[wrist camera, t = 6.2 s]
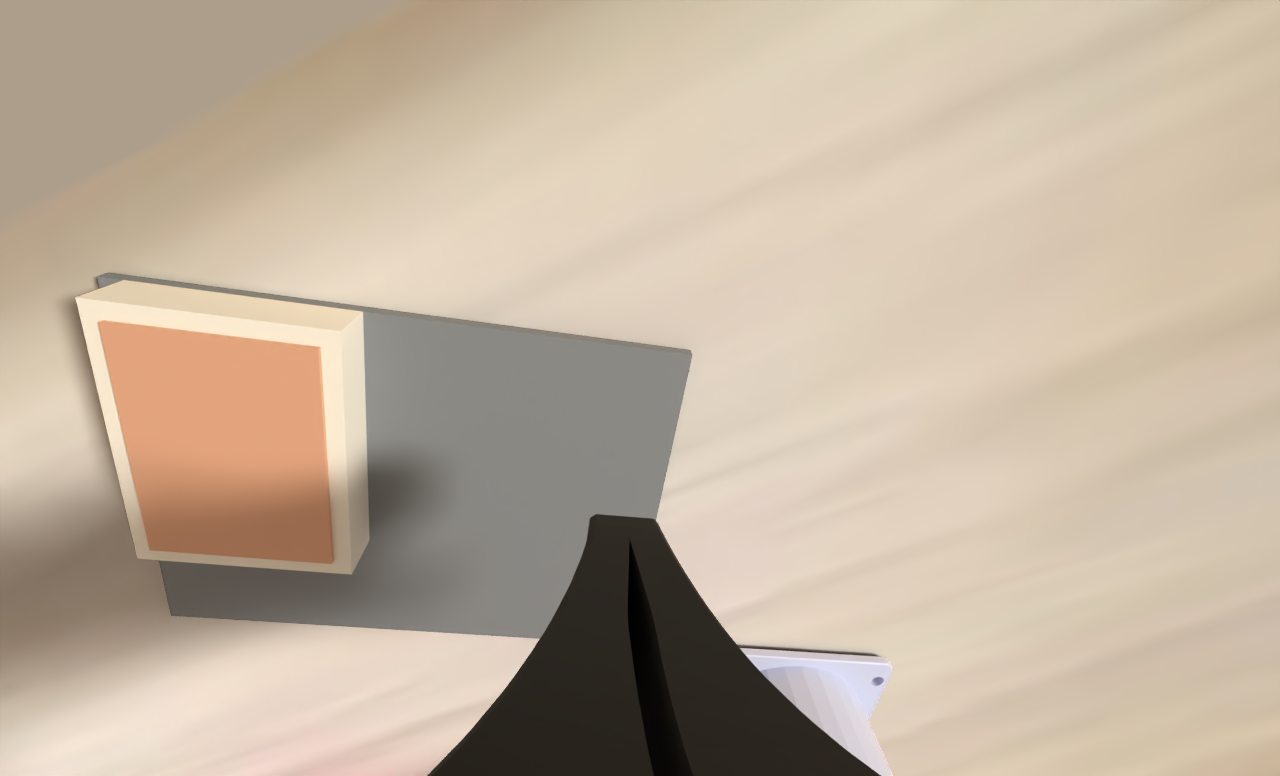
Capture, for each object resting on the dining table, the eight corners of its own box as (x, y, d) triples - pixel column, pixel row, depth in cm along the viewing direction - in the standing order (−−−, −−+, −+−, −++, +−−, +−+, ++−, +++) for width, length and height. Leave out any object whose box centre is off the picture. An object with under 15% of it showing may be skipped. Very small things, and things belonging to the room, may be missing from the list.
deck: (349, 578, 18) (133, 562, 17) (369, 540, 20) (172, 524, 19) (338, 333, 15) (70, 299, 14) (362, 311, 16) (123, 279, 15)
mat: (627, 635, 23) (628, 644, 22) (178, 606, 21) (170, 615, 20) (690, 350, 18) (692, 355, 18) (108, 272, 16) (96, 276, 15)
